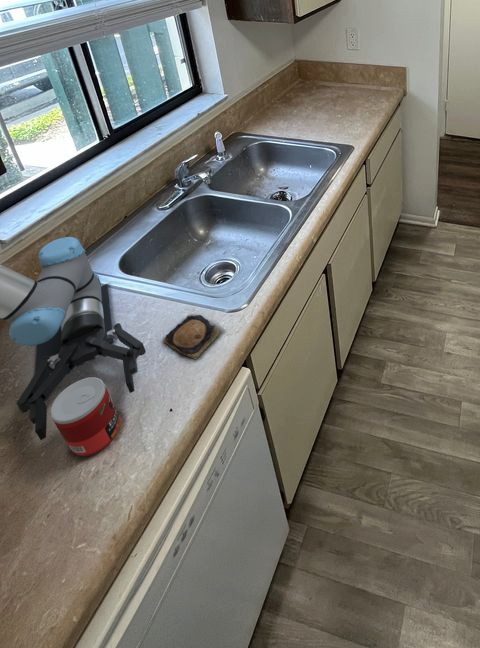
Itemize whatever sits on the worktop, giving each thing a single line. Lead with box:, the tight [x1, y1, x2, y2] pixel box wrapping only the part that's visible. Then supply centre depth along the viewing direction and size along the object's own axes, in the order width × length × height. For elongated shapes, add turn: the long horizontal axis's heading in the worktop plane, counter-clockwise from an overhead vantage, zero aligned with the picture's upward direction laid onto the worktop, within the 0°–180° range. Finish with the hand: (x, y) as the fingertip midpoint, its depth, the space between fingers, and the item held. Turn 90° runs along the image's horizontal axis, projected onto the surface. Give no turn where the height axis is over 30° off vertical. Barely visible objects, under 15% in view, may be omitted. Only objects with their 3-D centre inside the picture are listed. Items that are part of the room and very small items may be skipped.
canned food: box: [49, 376, 122, 457], centre depth 79 cm, size 8×8×11 cm
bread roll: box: [163, 314, 222, 360], centre depth 98 cm, size 11×8×4 cm
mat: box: [34, 283, 115, 374], centre depth 102 cm, size 14×20×1 cm
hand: (87, 410), depth 79 cm, fingers open, 13 cm apart
